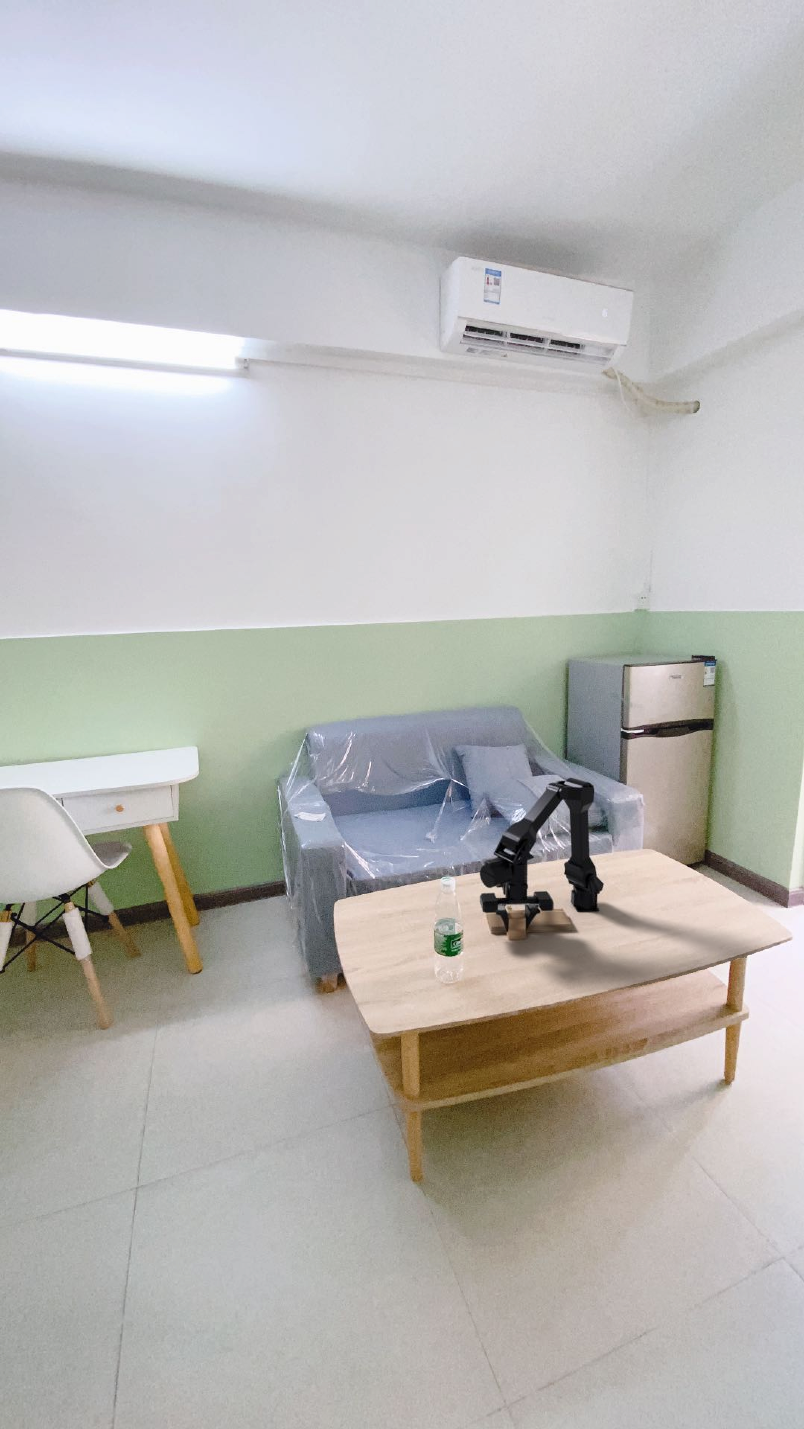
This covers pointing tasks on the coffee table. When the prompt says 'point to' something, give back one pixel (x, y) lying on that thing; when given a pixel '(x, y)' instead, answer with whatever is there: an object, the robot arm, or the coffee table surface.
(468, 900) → the coffee table surface
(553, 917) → the board
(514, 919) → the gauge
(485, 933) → the coffee table surface
